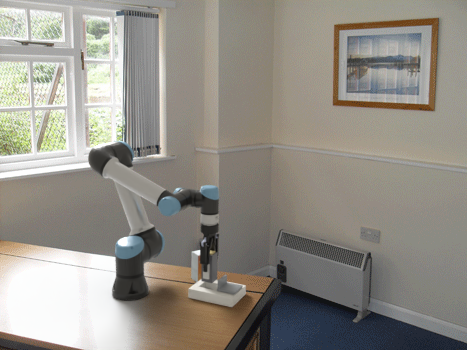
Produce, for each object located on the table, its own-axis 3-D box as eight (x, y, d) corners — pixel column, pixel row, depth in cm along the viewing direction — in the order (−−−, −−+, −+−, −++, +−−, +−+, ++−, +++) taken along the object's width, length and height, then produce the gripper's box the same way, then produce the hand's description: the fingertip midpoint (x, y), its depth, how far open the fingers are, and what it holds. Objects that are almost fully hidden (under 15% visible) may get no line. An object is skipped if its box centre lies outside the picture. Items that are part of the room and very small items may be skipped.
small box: (197, 283, 236) (198, 255, 233) (190, 278, 241) (191, 251, 238) (213, 279, 240) (213, 252, 238) (206, 275, 245) (206, 248, 243)
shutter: (216, 290, 218) (217, 280, 217) (225, 283, 225) (225, 274, 225) (234, 294, 215) (234, 284, 214) (242, 287, 222) (242, 277, 221)
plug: (212, 283, 220) (212, 254, 218) (201, 281, 222) (201, 252, 220) (217, 279, 225) (217, 250, 222) (206, 277, 227) (207, 248, 224)
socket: (188, 297, 221) (188, 288, 220) (203, 285, 234) (203, 276, 233) (232, 307, 213) (232, 298, 212) (245, 294, 226) (245, 285, 225)
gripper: (207, 230, 209) (207, 285, 214) (227, 218, 225) (226, 270, 230) (191, 227, 212) (191, 282, 217) (211, 216, 228) (211, 267, 233)
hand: (209, 276), depth 223 cm, fingers closed on plug, 5 cm apart
